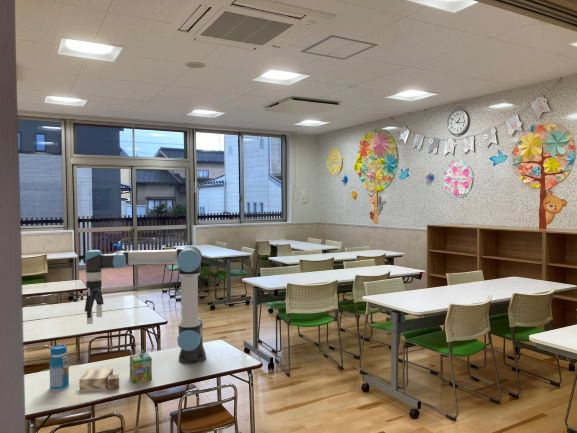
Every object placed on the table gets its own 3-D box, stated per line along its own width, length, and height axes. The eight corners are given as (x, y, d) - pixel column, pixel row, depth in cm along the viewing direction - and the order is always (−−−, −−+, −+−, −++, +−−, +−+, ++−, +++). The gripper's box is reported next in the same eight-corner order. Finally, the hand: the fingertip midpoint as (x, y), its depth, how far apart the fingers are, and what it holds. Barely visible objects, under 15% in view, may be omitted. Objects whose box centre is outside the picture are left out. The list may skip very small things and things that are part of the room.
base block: (113, 378, 222) (112, 368, 222) (105, 388, 210) (105, 378, 210) (88, 379, 220) (87, 369, 220) (79, 389, 209) (79, 379, 208)
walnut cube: (118, 384, 215) (118, 374, 214) (119, 388, 210) (119, 378, 210) (107, 385, 213) (107, 375, 213) (107, 389, 208) (107, 379, 208)
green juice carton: (129, 378, 223) (129, 349, 223) (148, 374, 228) (147, 346, 227) (133, 384, 215) (132, 354, 215) (152, 380, 220) (152, 351, 219)
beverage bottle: (51, 392, 206) (50, 350, 206) (48, 386, 213) (47, 346, 213) (70, 388, 211) (70, 347, 211) (67, 382, 218) (66, 342, 218)
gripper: (95, 276, 242) (95, 314, 242) (76, 284, 217) (77, 327, 217) (109, 275, 242) (109, 314, 243) (92, 284, 217) (93, 326, 218)
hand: (94, 320), depth 230 cm, fingers open, 13 cm apart
